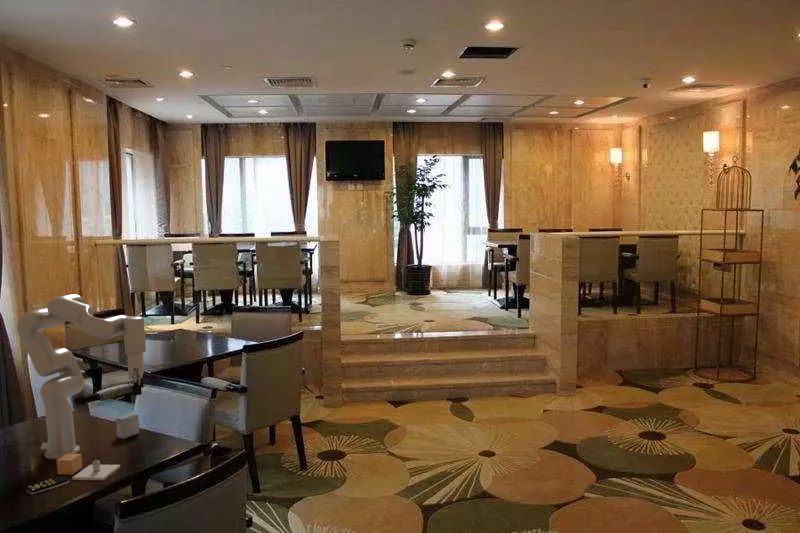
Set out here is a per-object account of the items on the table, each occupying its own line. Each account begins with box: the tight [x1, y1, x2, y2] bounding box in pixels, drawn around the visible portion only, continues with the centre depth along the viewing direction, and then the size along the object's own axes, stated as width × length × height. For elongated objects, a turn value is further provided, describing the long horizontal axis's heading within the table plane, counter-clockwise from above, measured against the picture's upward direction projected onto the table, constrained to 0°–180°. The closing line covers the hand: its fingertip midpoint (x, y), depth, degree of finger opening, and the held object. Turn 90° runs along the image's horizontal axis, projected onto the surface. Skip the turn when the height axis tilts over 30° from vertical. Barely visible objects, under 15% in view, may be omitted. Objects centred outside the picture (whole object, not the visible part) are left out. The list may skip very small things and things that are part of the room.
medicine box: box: [115, 412, 140, 440], centre depth 269 cm, size 8×4×9 cm, turn 144°
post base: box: [72, 459, 121, 481], centre depth 230 cm, size 12×11×5 cm
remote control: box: [26, 475, 70, 495], centre depth 221 cm, size 6×13×2 cm, turn 138°
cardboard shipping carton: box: [56, 453, 84, 475], centre depth 233 cm, size 6×6×6 cm
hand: (138, 391), depth 240 cm, fingers open, 9 cm apart
